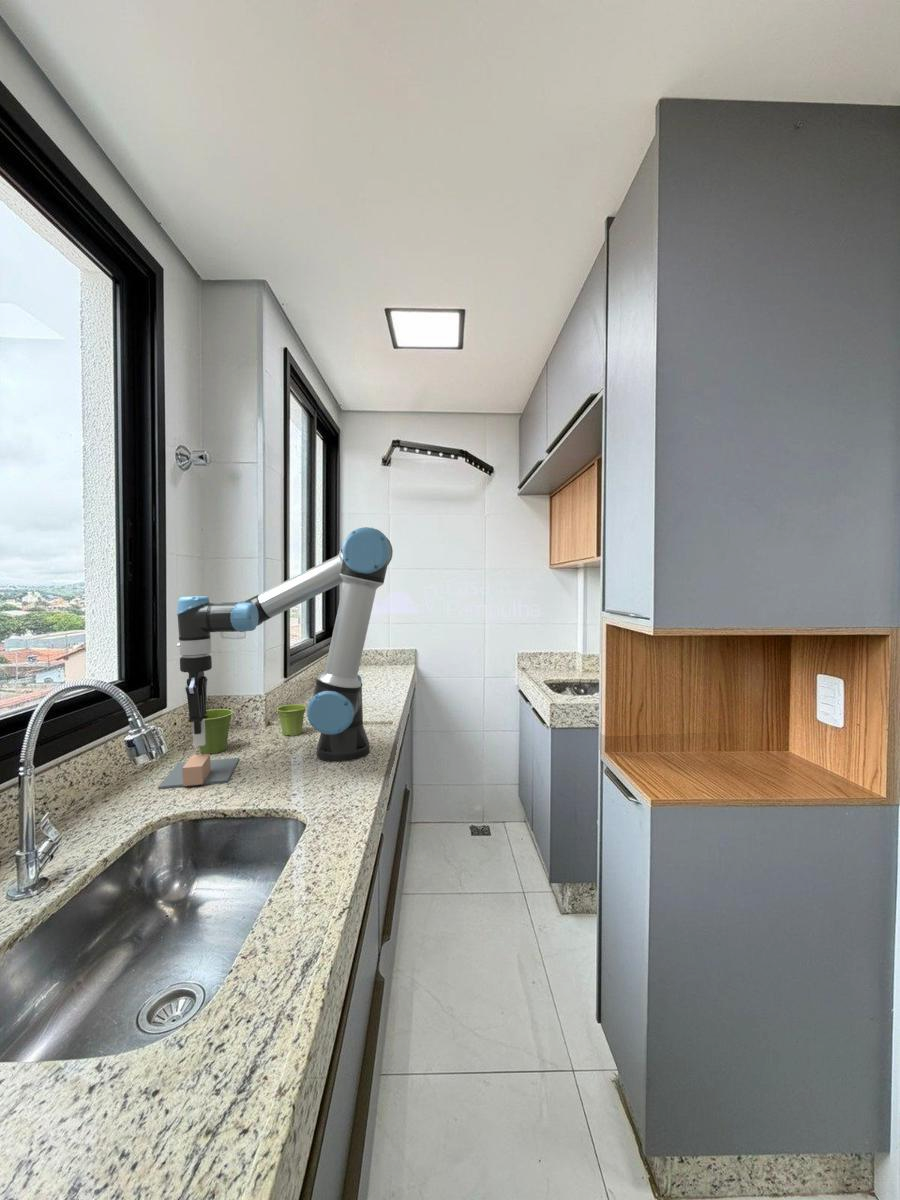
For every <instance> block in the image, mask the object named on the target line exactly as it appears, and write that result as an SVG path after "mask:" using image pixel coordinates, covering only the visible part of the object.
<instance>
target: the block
mask: <svg viewBox="0 0 900 1200" xmlns="http://www.w3.org/2000/svg"><path fill="white" fill-rule="evenodd" d="M210 760H211V753H209V754H203V753H201V754H193V755H191V756H190V757H189V758H188V759H187V761H186V764H185V765H184V766H183V768H182V776H183V786H186V787H190V786H189V785H196V786H200V785H199V784H203V783H204V781H205V779H206V778H207V776H208V774H209V773H210V771H211V762H210Z"/></svg>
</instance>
